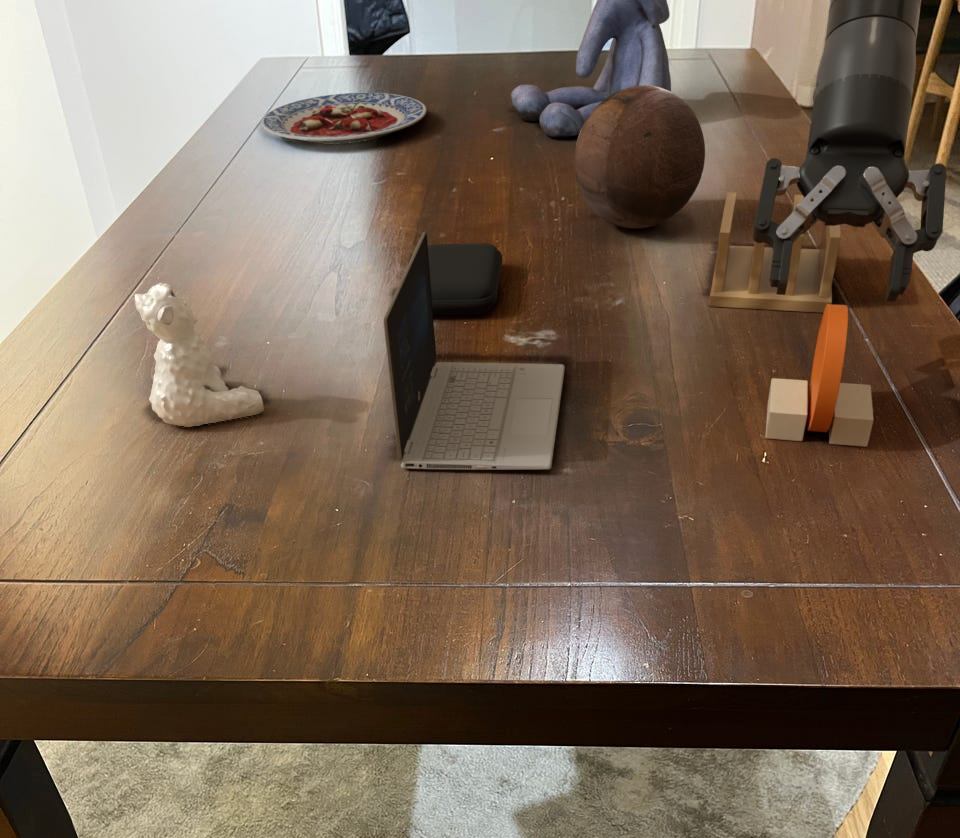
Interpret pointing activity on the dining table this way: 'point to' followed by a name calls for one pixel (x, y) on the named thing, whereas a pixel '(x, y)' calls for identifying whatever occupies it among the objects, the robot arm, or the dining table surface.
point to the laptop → (462, 393)
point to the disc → (827, 367)
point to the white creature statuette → (187, 367)
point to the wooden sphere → (639, 156)
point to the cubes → (792, 409)
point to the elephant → (631, 62)
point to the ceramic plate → (344, 117)
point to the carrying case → (464, 277)
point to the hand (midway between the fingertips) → (836, 294)
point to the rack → (749, 270)
